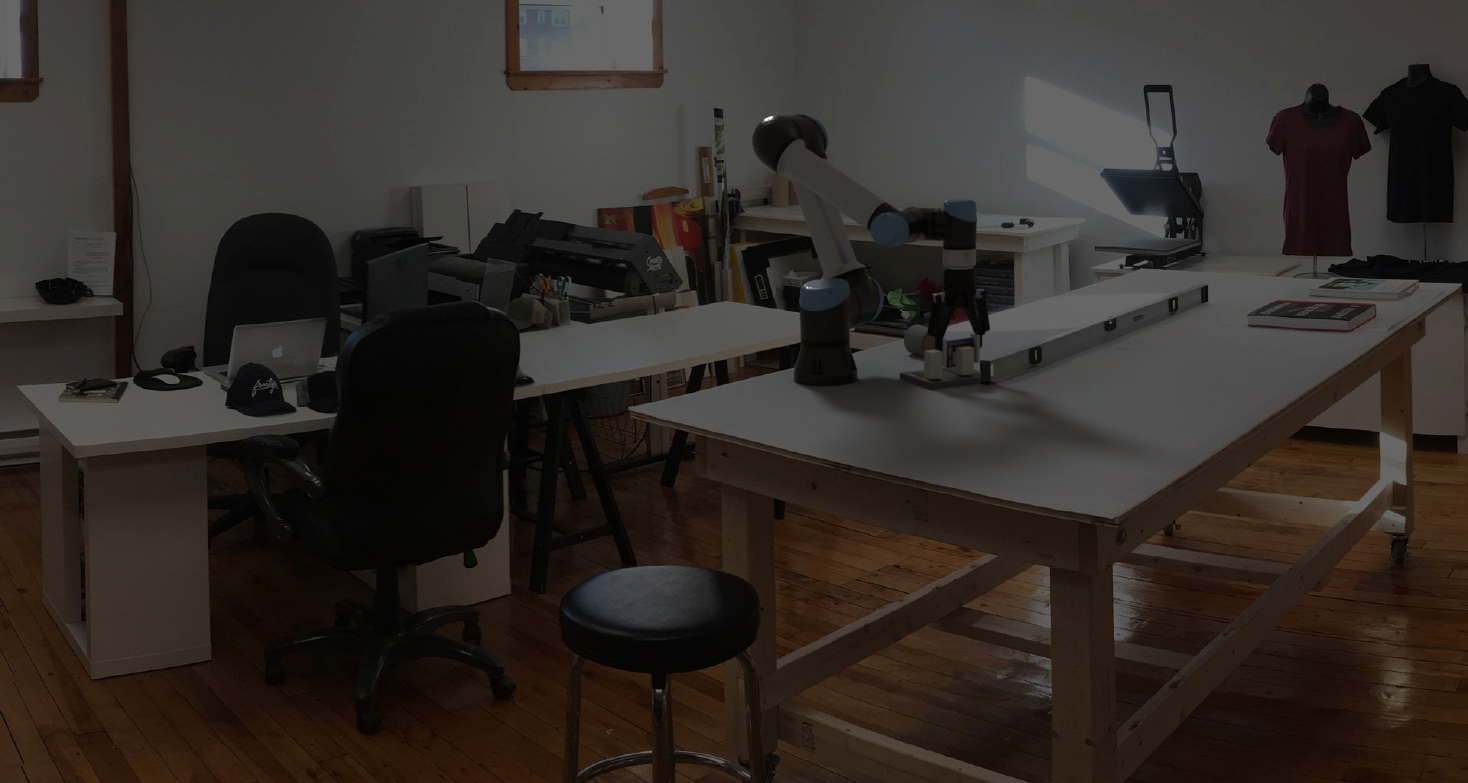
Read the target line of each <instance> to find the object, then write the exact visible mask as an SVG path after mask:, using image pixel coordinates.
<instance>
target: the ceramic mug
mask: <svg viewBox="0 0 1468 783" xmlns="http://www.w3.org/2000/svg"><path fill="white" fill-rule="evenodd" d="M927 332H928V326H927V327H926V326H924V325H921V324H913V325H911V326H910V327H908V329H907V330H906V331H905V334H904V337H903V343H904V344H903V345H904V348H905V349H906V351H907V352H908V353H911V354H913V355H917V356H921V357H924V351H928V350H935V338H934V337H932V336H929V335H928V334H927Z"/></svg>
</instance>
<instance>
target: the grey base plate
mask: <svg viewBox="0 0 1468 783" xmlns="http://www.w3.org/2000/svg"><path fill="white" fill-rule="evenodd" d="M955 370H956V367H950V368H947V367H942V378H936V379H929V378H926V377H924V369H921V370H913V371H906V372H905V371H904V372H899V380H900V381H903V382H906V383H910V384H913V385H916V386H918V387H922V388H924V389H928V390H930V391H934V390H941V389H948V388H949V389H950V388H951V389H952V388H957V387H965V386H973V385H980V384H981V372H982V371H981V370H977V369H974V374H969V375H960V374H957V373H955ZM981 385H982V384H981Z"/></svg>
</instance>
